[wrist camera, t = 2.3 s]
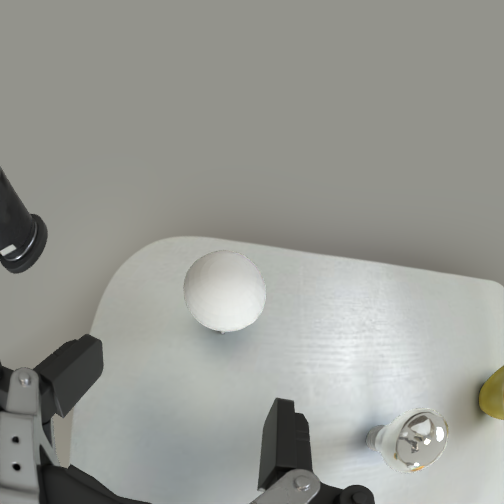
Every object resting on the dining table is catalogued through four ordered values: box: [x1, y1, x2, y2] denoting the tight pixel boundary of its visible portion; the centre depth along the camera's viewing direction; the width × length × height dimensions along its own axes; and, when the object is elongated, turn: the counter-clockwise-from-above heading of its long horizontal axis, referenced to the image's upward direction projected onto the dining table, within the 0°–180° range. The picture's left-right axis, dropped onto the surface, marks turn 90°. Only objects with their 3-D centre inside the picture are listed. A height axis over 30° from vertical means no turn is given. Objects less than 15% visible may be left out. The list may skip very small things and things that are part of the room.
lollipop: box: [184, 250, 266, 334], centre depth 23 cm, size 6×6×15 cm
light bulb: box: [366, 408, 449, 473], centre depth 19 cm, size 7×7×12 cm
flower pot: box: [479, 366, 504, 420], centre depth 23 cm, size 10×10×7 cm
